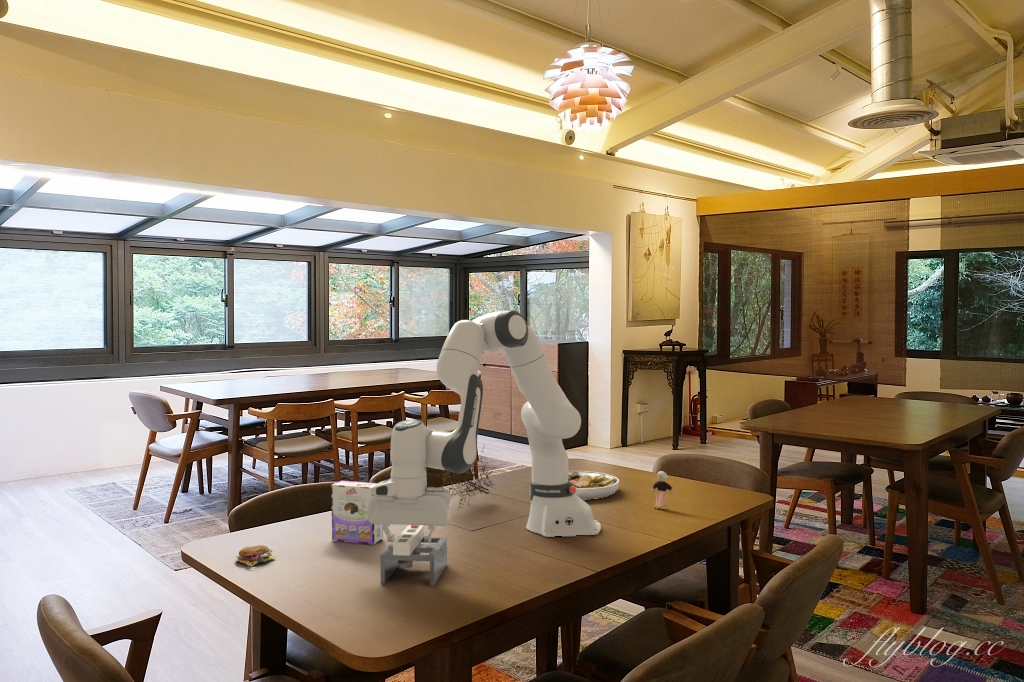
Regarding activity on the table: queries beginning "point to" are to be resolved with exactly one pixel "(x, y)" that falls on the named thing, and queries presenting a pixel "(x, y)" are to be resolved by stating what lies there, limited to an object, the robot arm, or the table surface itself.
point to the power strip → (408, 543)
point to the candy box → (353, 513)
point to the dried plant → (466, 482)
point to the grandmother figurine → (662, 490)
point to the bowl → (593, 484)
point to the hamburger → (254, 555)
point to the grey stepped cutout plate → (417, 558)
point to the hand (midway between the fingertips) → (409, 541)
